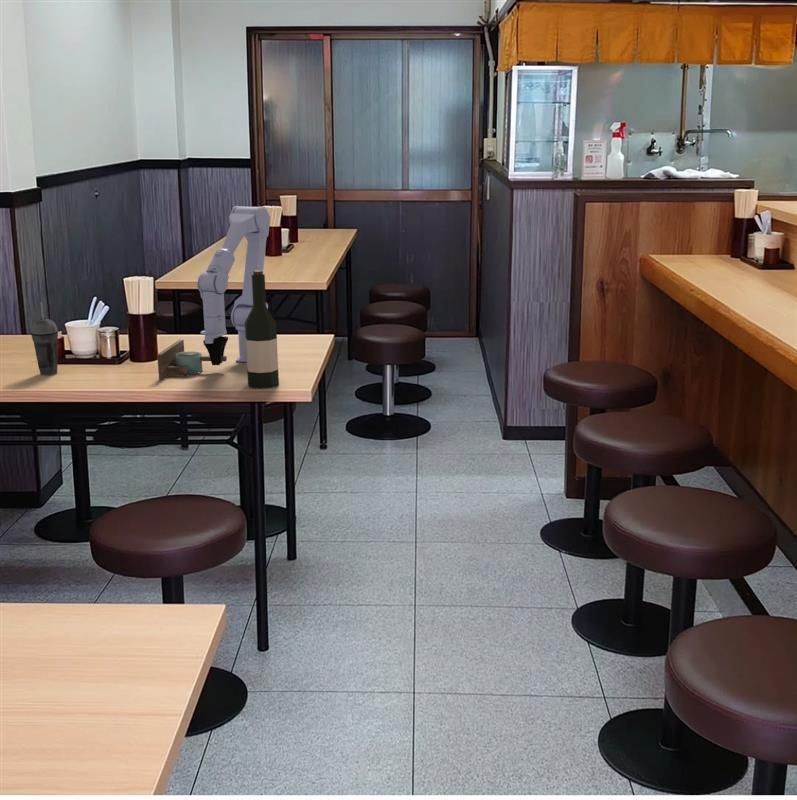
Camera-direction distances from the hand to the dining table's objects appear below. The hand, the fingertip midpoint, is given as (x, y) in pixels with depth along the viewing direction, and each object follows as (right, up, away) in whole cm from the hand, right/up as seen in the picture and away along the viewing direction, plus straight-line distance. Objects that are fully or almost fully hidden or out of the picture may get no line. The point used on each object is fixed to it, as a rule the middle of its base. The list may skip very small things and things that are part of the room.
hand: (217, 364), depth 280 cm
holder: (-10, -2, +1) cm, 10 cm away
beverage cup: (-47, -3, +1) cm, 47 cm away
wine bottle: (+15, -6, -14) cm, 21 cm away
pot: (-4, -2, +1) cm, 5 cm away
